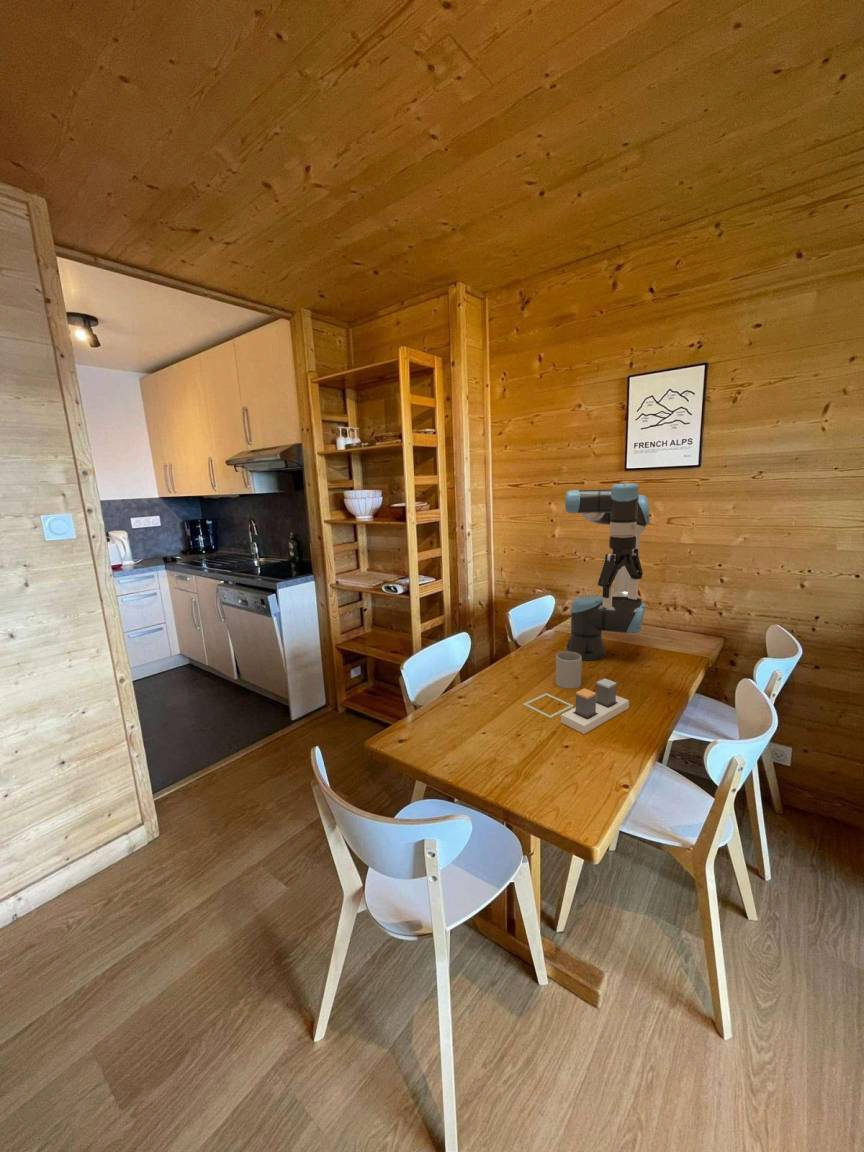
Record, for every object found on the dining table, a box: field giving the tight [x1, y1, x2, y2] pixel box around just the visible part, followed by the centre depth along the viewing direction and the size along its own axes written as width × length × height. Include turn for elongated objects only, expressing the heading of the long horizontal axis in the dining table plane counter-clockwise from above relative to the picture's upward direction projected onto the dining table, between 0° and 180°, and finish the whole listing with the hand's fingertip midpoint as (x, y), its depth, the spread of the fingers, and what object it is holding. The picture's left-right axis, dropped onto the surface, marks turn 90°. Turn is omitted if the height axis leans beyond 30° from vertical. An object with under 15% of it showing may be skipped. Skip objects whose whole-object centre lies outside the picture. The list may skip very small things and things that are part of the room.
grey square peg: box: [595, 677, 617, 708], centre depth 139 cm, size 4×4×9 cm
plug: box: [575, 687, 596, 720], centre depth 134 cm, size 4×4×9 cm
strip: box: [560, 694, 630, 735], centre depth 137 cm, size 8×22×4 cm, turn 126°
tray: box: [522, 692, 574, 719], centre depth 145 cm, size 11×11×1 cm
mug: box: [555, 650, 583, 689], centre depth 159 cm, size 12×8×11 cm
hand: (620, 603), depth 143 cm, fingers open, 13 cm apart
